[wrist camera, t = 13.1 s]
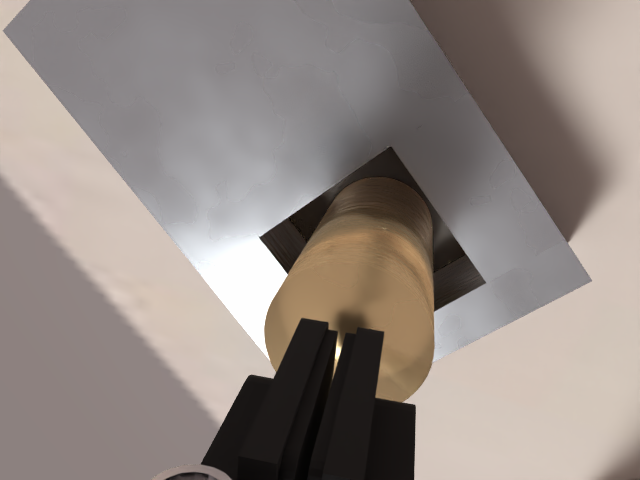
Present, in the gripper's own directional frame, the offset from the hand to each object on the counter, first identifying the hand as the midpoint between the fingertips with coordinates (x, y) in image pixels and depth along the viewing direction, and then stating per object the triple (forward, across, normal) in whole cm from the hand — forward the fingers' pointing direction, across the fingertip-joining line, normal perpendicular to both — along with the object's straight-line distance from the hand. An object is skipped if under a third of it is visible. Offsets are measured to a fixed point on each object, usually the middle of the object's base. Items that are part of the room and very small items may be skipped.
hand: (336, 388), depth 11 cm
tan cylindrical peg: (+9, 0, 0) cm, 9 cm away
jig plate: (+9, +3, -3) cm, 10 cm away
